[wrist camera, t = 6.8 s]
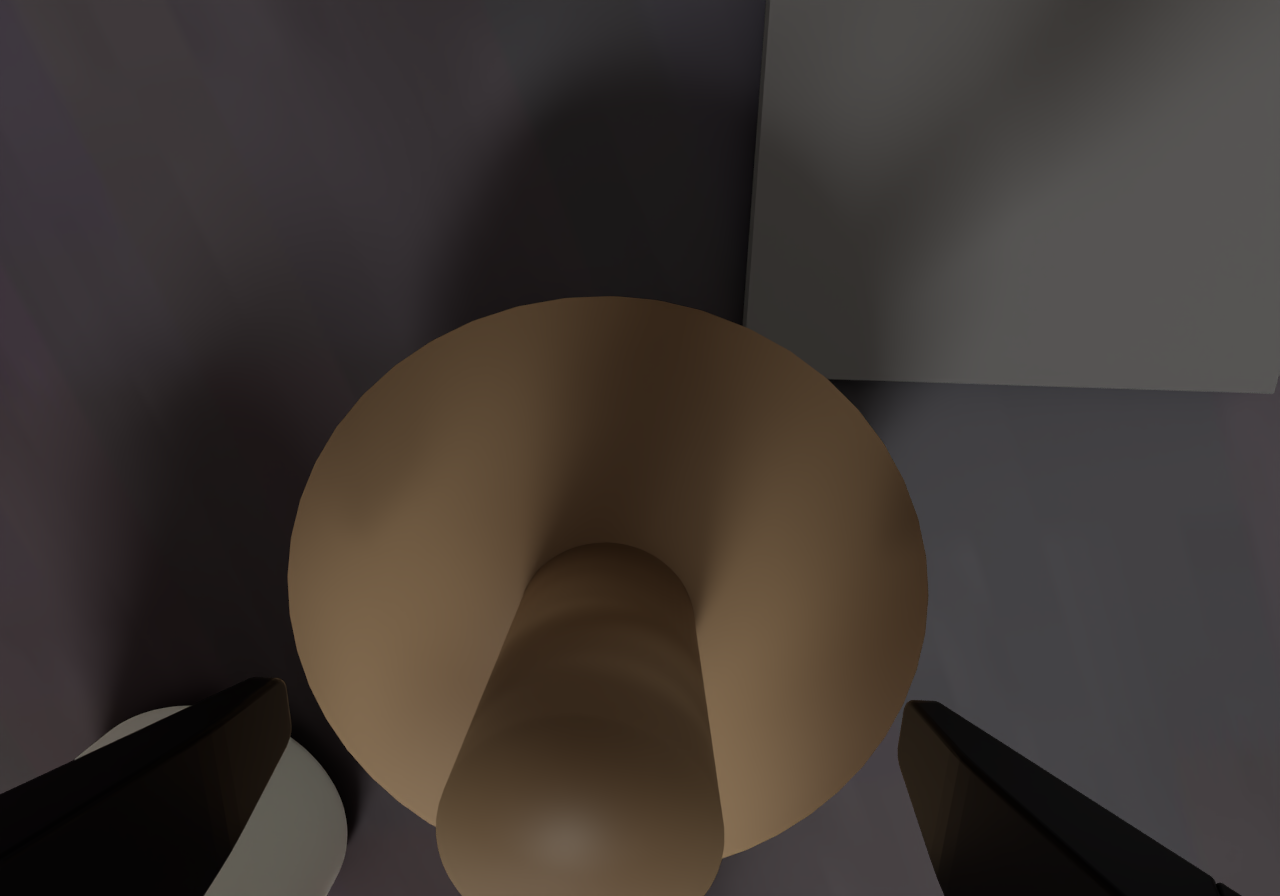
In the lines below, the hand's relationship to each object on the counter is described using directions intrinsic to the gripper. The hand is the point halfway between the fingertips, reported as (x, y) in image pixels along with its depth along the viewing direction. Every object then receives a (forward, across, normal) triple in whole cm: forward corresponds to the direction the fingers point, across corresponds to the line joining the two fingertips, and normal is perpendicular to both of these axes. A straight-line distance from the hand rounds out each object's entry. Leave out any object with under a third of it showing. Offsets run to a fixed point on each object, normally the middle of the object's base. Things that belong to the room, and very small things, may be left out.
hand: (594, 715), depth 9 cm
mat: (+8, -10, -10) cm, 16 cm away
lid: (+3, 0, 0) cm, 3 cm away
